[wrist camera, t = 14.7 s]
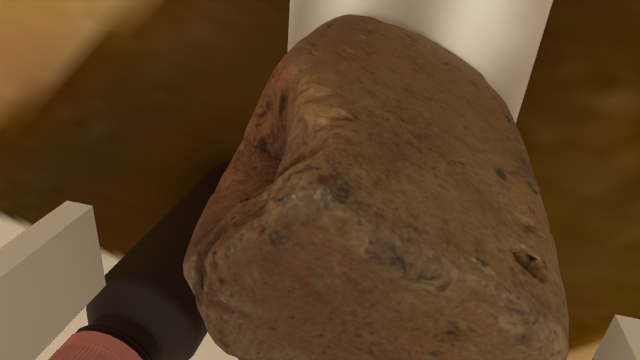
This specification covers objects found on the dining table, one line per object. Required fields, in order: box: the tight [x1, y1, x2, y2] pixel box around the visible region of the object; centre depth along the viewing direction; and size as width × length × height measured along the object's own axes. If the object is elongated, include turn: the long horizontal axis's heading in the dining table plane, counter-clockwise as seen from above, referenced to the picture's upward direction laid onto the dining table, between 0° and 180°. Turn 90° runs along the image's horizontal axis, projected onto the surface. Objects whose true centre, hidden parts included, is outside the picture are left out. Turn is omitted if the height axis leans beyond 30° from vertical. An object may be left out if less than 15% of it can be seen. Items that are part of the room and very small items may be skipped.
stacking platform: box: [287, 0, 553, 123], centre depth 30 cm, size 14×14×4 cm
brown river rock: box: [183, 14, 569, 360], centre depth 19 cm, size 11×8×20 cm
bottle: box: [48, 164, 229, 360], centre depth 31 cm, size 7×7×20 cm
